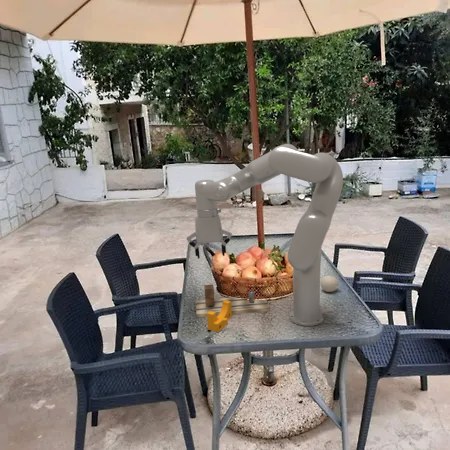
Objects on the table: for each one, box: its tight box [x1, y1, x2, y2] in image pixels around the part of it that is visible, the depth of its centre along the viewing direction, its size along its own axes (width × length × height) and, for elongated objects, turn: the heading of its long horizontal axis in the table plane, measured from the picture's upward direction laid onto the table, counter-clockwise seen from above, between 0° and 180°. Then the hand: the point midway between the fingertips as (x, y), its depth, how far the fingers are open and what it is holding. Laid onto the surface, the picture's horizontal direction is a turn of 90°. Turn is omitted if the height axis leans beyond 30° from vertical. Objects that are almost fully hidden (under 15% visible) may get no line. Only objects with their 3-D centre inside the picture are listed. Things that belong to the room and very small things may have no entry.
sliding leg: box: [203, 284, 215, 306], centre depth 160 cm, size 4×4×8 cm
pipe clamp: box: [206, 300, 233, 333], centre depth 149 cm, size 12×4×6 cm, turn 147°
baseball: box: [320, 275, 339, 293], centre depth 171 cm, size 7×7×7 cm
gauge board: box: [195, 296, 271, 319], centre depth 162 cm, size 28×12×2 cm, turn 95°
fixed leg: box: [248, 290, 255, 303], centre depth 162 cm, size 2×2×4 cm
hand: (211, 256), depth 158 cm, fingers open, 9 cm apart
